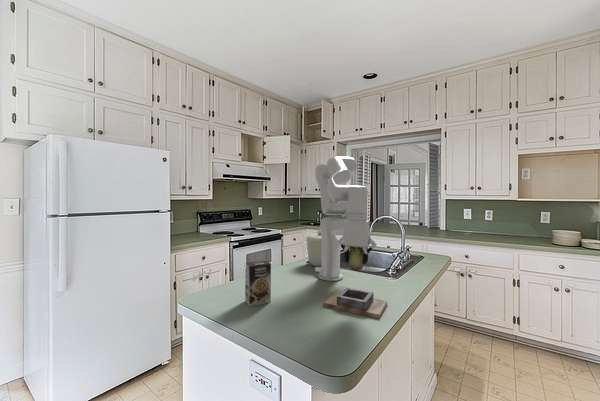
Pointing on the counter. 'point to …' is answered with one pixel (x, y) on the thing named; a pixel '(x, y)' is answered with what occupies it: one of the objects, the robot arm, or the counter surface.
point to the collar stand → (356, 302)
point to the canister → (314, 248)
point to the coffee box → (258, 283)
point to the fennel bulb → (356, 258)
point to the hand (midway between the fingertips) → (356, 262)
